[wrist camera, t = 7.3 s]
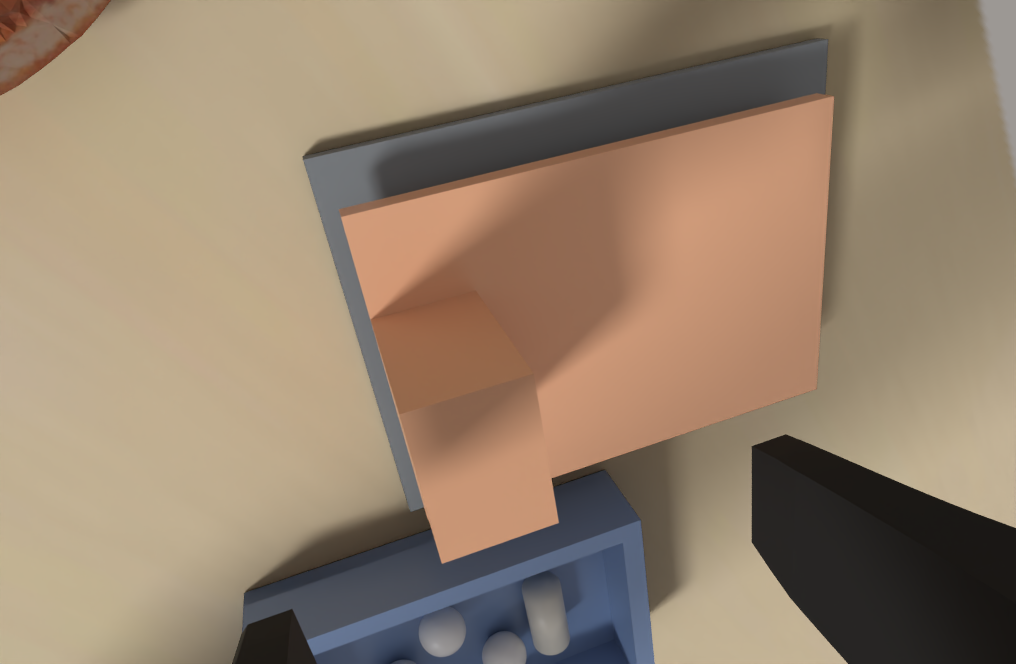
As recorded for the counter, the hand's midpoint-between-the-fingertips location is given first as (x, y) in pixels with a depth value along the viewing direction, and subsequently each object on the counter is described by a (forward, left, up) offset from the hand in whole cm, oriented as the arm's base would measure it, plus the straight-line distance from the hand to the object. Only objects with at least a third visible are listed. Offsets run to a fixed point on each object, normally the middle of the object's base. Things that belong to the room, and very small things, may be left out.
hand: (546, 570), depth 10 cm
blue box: (-10, +1, -9) cm, 13 cm away
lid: (0, -4, -7) cm, 8 cm away
